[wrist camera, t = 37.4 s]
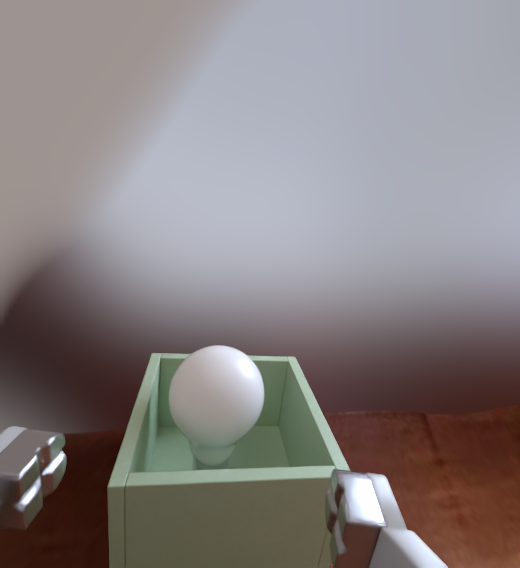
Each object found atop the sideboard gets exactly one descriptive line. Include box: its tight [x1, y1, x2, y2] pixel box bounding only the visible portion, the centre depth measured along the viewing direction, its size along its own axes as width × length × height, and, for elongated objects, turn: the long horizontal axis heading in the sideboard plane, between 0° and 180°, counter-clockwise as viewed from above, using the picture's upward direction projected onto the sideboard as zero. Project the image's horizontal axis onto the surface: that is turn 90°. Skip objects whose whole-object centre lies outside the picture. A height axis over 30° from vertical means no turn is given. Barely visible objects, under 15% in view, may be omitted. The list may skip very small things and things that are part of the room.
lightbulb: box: [168, 345, 265, 470], centre depth 22 cm, size 6×6×11 cm
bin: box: [107, 353, 350, 568], centre depth 23 cm, size 13×13×8 cm
